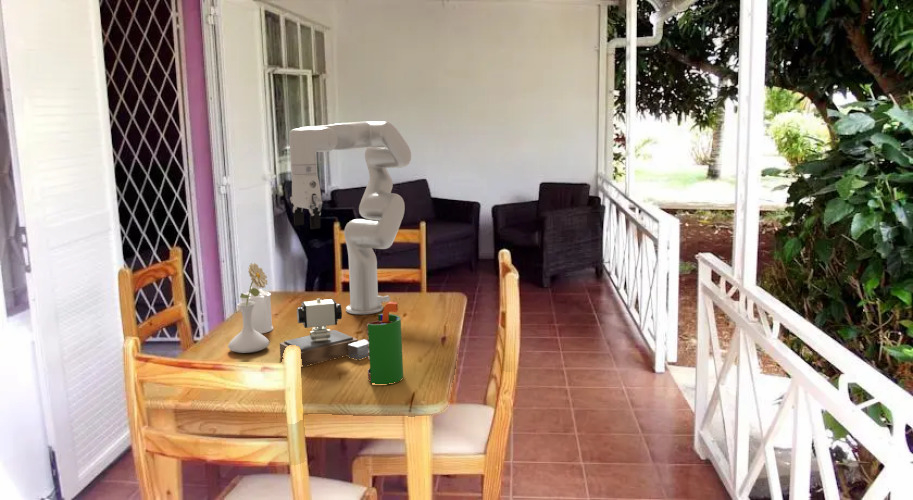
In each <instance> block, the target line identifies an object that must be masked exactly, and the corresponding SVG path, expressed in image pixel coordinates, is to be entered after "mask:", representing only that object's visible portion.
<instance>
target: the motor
mask: <svg viewBox="0 0 913 500" xmlns="http://www.w3.org/2000/svg"><path fill="white" fill-rule="evenodd" d="M398 305H399V304H398V302H395V301H387V303H385V305H384V306H383V310H382V313H378V314H377V316H378V317H377V318H378V319H377V320H375V321H370V322H368V323H367V324H366V329H367V331H366V334H367V339H366V340H367V341H368V342H369V344H368V349H369V350H368V355H369V357H368V362H369V368H368V370H367V379H369V380H371V382H370V384H371V383H375V384H389V383H394V382H398V381H400V380H401V379H402V378H403V379H404V363H403V361H404V360H403V341H402V321H401V320H402V317H401V316H399V315H398V314H392V313H397V312H398V311H399V309H398V308H399V306H398ZM391 312H392V313H391ZM403 379H402V380H403ZM369 380H368V381H369ZM402 380H401V381H402ZM401 381H400V382H401ZM398 383H399V382H398Z"/></svg>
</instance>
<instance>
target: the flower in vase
mask: <svg viewBox="0 0 913 500" xmlns="http://www.w3.org/2000/svg"><path fill="white" fill-rule="evenodd" d="M247 268H248V274H249V277H250V280H251V283H250V286H249V290H248V292H249V294H248V295H245V294H244V293H240V297H241V298H247V302H242V301H240V302H238V303H237V304H236V306H237V307H239V309H240V311H241V315H242V330H241V331H240V332H238V333H237V334H236V335H235V336H234V337H233V338H232V339H231V340H230V341H229V342H228V346H227V347H228V349H229V350H230V351H232V352H234V353H238V354H246V353H249V354H250V353H256V352H260V351H262V350H264V349H266V348H267V347H268V346H269V345H270V340H269V339H268V337H266V336H265V335H263V334H260V333H259V332H257V331H256V330H254V329H253V327H252V322H251V313H252V309H253V306H254V305H255V302H251V301H248V299H249V297H250V296H249V295H250V293H251V294H252V295H253V296H258V295H259V293H260V292H259V290H257V289H256V288H252V289H251V287H252V283H253V282H254V284H256V286H257V287H258V286H259V287H260V288H261V289H263V288H266V285H268V279H267V278H268V276H267V275H266V273H265V272H264V270H263V268H262V267H259V265H258V264H257V263H255V262H254V263H253V262H252V263H250V264H249V267H247ZM240 297H239V298H240ZM241 298H240V299H241Z"/></svg>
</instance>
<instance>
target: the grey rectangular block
mask: <svg viewBox="0 0 913 500" xmlns="http://www.w3.org/2000/svg"><path fill="white" fill-rule="evenodd" d="M368 344H369V342H368V341H367V339H361V340H358V341H357V342H354V343H351V344H348V356H347V357H350V358H349V359H351V358H354V359H357V360H359V359H362V358H365V357H368V356H369V355H368V350H369V349H368ZM368 358H369V357H368ZM354 359H353V360H354ZM365 359H366V358H365ZM357 360H356V361H357ZM362 360H363V359H362ZM359 361H360V360H359Z"/></svg>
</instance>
